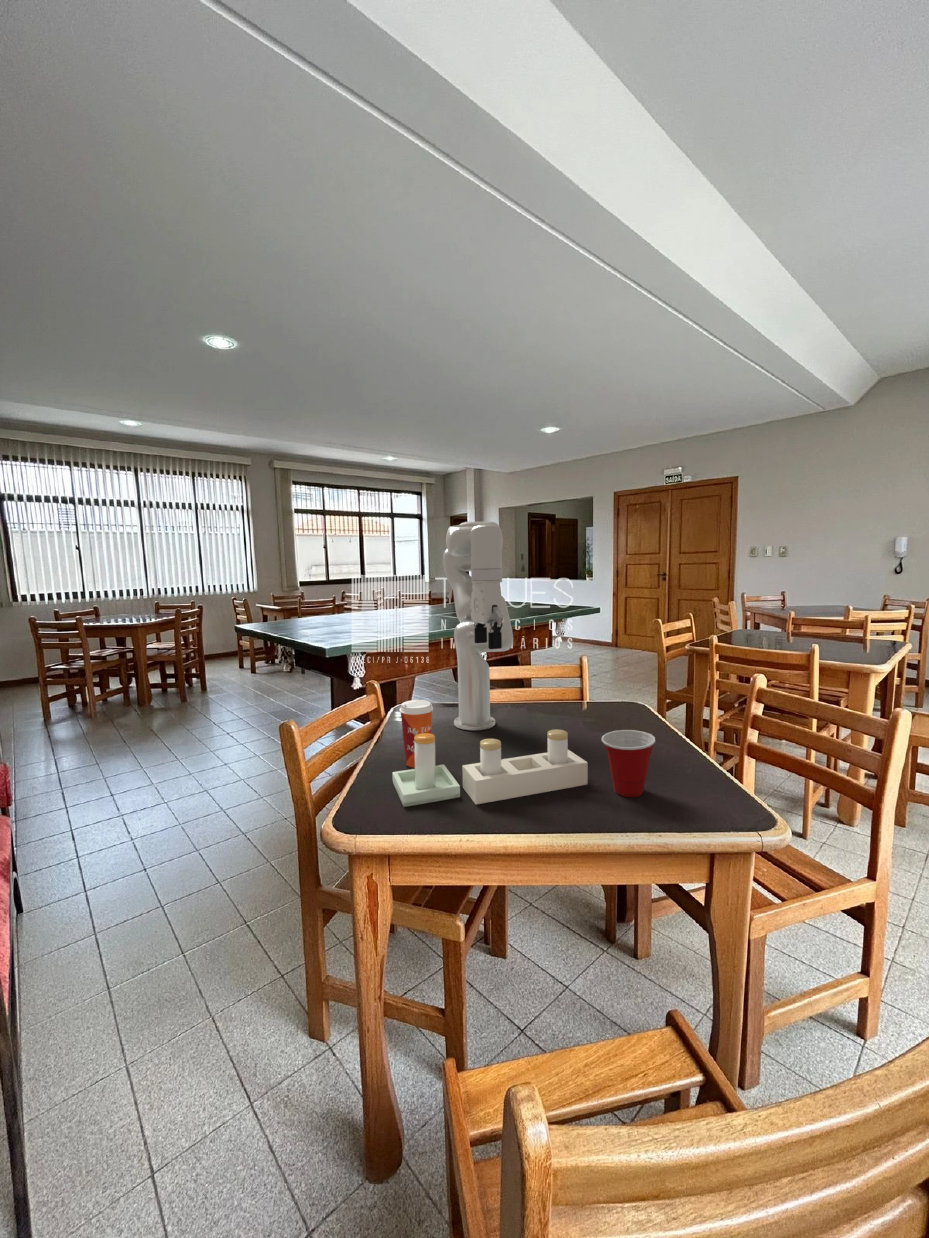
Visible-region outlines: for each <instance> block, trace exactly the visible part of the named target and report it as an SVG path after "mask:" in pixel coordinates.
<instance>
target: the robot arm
mask: <svg viewBox="0 0 929 1238" xmlns="http://www.w3.org/2000/svg"><path fill="white" fill-rule="evenodd" d="M502 532H503V531H502V528H501V527H500V525H499V524H498V523H497V522H496V521H464V522H461V523H460V524H457V525H452V526H451V525H450V526H449V527H448V529H447V532H446V535H445V536H446V537H445V545H446V549H445V550H444V551H443V554H442V565H443V570H444V574H445V577H446V579H447V582H448V583H449V585H450V588H451V589H452V593H453V601H454V608H455V613H456V614H455V615H456V617H457V620H458V621H459V622H460V623H458V624H457V625H456V626H455V628H454V631H453V639H454V644H455V651H456V658H457V659H456V661H457V683H458V685H457V686H458V688H457V690H458V695H457V696H458V716H457V717H456V718H455V719H454V720H453V726H454V727H456V728H457V729H460V730H464V731H483V730H488V729H491V728H493V727H494V726H495V725H496V719H495V718H494V717H492V716H491V687H490V686H491V685H490V684H491V683H490V679H491V678H490V677H491V676H490V667H489V663H488V662H487V660H486V659H485V658H484V657H483V656H482V655H481V654H483V653H496V652H506V651H509V650H510V649H511V648H512V647H513V644H514V634H513V632H514V631H513V628H512V622H511V618H510V614H509V610H508V609H509V608H508V606H507V605H508V604H507V602H506V599H505V598H504V597H503V595H502V588H501V583H503V553H502V552H503V548H504V547H503V546H504V535H503V533H502ZM467 572H470V574H468V573H467Z"/></svg>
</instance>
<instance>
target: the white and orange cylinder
mask: <svg viewBox="0 0 929 1238" xmlns="http://www.w3.org/2000/svg"><path fill="white" fill-rule="evenodd" d="M414 739H415V768H414V769H415V788H417V789H419V790H424V789H430V788H434V787H435V766H436V735H435V734H433V733H431V734H430V733H422V734H417V735H415V737H414Z"/></svg>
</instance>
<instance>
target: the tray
mask: <svg viewBox="0 0 929 1238" xmlns="http://www.w3.org/2000/svg"><path fill="white" fill-rule="evenodd" d="M391 776H392V785H393V786H394V788H395V791H396V793H397V796H398V798H399V800H400V802H401V804H402V806H403V808H405V807H406V808H407V807H411V806H418V805H423V804H429V803H435V802H440V801H446V800H452V799H457V798H458V799H459V798H461V786H460V784H459V783H458V781H457V780H456V779H455V777H454V776H453V775H452V773H451V772H450V770H449V769H448V768H447V767H446V765H445V764H439V765H438V764H437V765H435V787H434V788H430V789H424V790H419V789H417V788H415V768H411V769H405V770H398V771H393V772H392V775H391Z"/></svg>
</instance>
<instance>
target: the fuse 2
mask: <svg viewBox="0 0 929 1238" xmlns="http://www.w3.org/2000/svg"><path fill="white" fill-rule="evenodd" d="M546 733H547V734H546V735H547V752H548V762H549V763H550V764H552V765H558V764H564V763H568V750H569V749H568V747H569V745H568V743H569V742H568V738H569V737H568V736H569V735H568V732H567V731H566V730H564V729H556V728H555V729H551V730H550V729H549V730H548V731H547V732H546Z"/></svg>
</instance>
